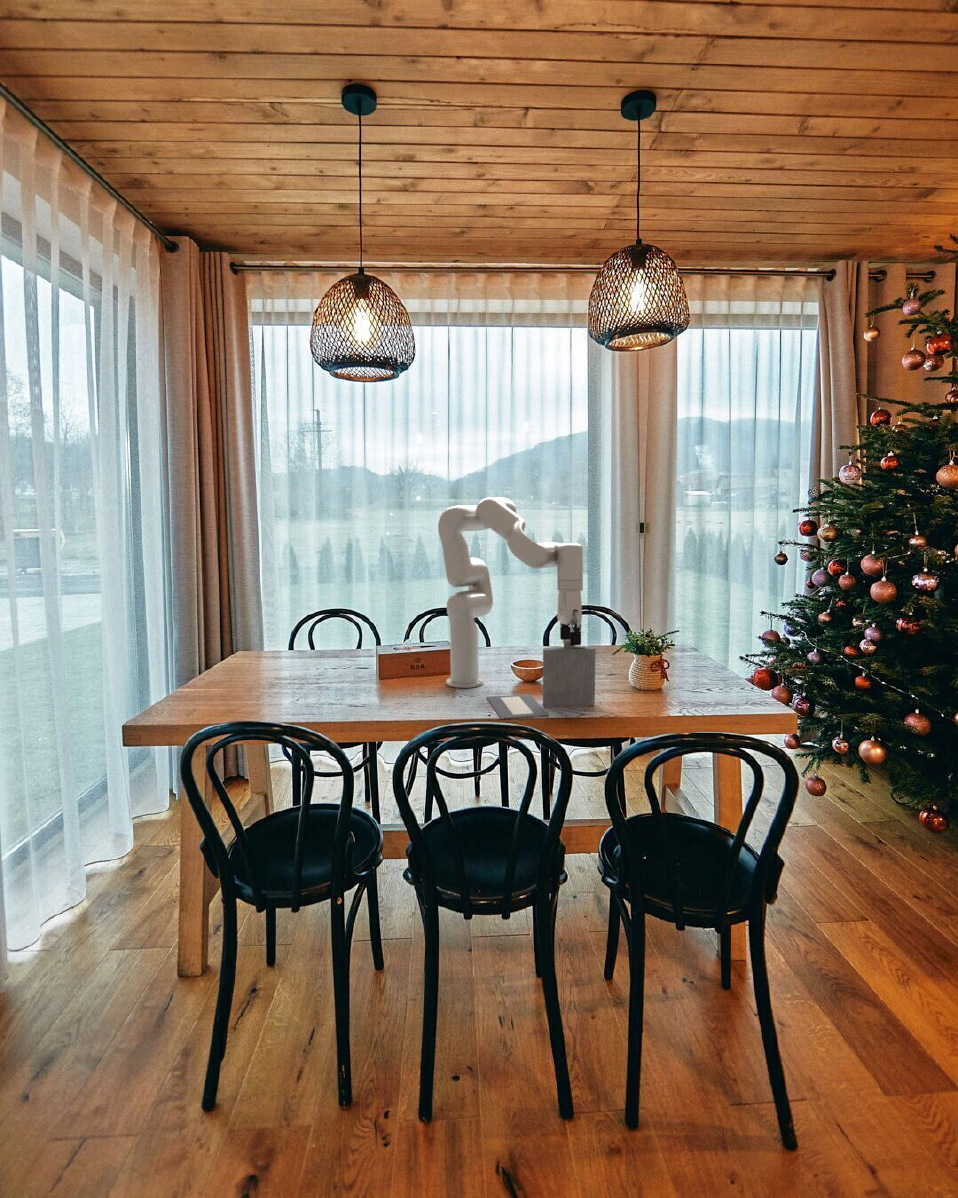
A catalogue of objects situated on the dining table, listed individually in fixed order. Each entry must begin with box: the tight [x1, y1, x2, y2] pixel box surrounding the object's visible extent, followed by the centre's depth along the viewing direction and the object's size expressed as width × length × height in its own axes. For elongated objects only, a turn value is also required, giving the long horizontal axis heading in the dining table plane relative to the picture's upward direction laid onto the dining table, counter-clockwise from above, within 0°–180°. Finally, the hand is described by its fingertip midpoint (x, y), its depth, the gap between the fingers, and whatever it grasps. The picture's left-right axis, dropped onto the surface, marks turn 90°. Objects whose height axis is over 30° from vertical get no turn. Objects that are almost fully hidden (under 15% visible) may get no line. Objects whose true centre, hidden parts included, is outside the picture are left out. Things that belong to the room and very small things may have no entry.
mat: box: [486, 694, 550, 720], centre depth 207 cm, size 22×14×1 cm, turn 10°
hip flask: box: [542, 639, 597, 708], centre depth 208 cm, size 16×4×20 cm, turn 95°
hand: (570, 642), depth 206 cm, fingers open, 9 cm apart
